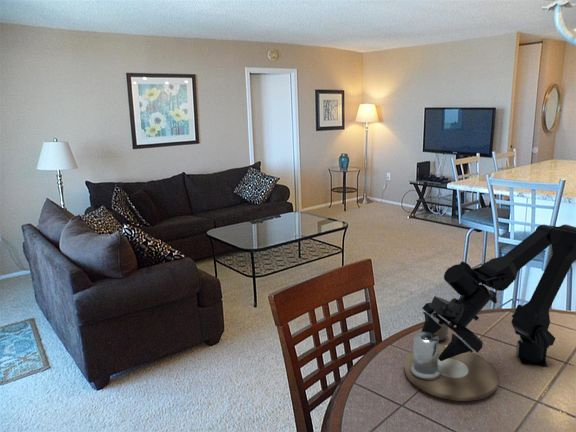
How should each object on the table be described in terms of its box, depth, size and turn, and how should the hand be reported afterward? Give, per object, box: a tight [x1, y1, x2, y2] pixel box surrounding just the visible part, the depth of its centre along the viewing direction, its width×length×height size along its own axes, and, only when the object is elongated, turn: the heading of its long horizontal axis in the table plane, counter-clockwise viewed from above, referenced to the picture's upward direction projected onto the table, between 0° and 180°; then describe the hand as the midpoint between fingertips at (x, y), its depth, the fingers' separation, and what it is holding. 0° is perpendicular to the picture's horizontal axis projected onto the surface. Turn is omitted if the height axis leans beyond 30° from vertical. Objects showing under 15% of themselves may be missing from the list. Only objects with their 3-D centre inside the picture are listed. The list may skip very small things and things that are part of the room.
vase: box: [434, 323, 449, 342], centre depth 136 cm, size 7×7×9 cm
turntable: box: [404, 344, 499, 402], centre depth 117 cm, size 23×23×2 cm
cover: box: [411, 331, 440, 381], centre depth 114 cm, size 7×7×10 cm
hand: (429, 350), depth 114 cm, fingers open, 9 cm apart
